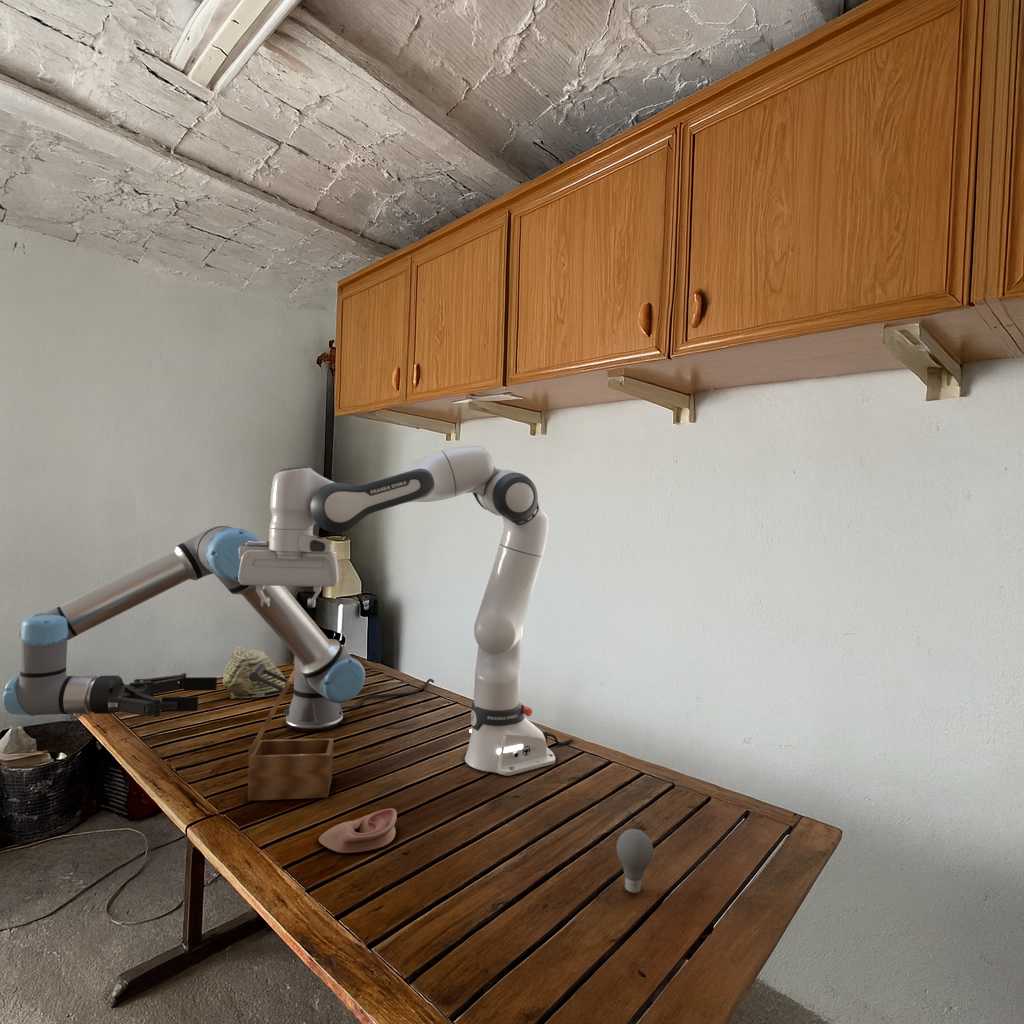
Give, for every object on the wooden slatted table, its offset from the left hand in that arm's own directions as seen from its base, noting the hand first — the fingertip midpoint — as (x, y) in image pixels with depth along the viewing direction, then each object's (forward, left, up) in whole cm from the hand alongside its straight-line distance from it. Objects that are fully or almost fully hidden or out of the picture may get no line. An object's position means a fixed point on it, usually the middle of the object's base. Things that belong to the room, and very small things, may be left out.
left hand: (207, 693), depth 133 cm
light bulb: (-32, +84, -21) cm, 92 cm away
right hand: (-12, +10, +18) cm, 24 cm away
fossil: (-41, -53, -21) cm, 70 cm away
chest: (-13, +11, -21) cm, 27 cm away
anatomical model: (-11, +38, -21) cm, 44 cm away
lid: (-10, +9, -4) cm, 14 cm away
